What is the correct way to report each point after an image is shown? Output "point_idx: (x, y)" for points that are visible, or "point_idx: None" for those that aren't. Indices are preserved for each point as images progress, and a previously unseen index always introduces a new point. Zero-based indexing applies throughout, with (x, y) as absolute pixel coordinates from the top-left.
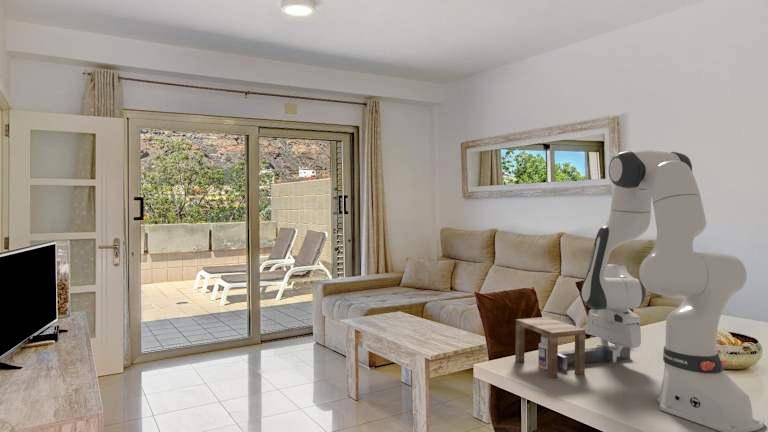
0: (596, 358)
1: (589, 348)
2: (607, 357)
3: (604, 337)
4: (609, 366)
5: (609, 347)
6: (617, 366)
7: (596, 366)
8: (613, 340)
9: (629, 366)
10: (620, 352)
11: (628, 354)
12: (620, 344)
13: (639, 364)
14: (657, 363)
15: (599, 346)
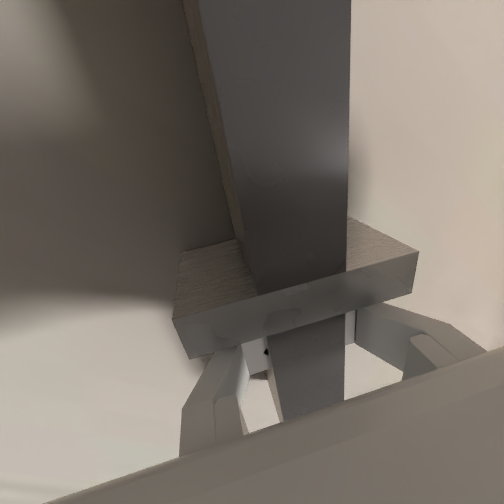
0: (209, 108)
1: (343, 12)
2: (240, 250)
3: (444, 405)
4: (84, 176)
5: (304, 334)
6: (94, 247)
7: (62, 9)
8: (231, 482)
9: (105, 327)
10: (268, 371)
11: (272, 396)
12: (75, 497)
13: (155, 388)
14: (173, 452)
15: (377, 259)
